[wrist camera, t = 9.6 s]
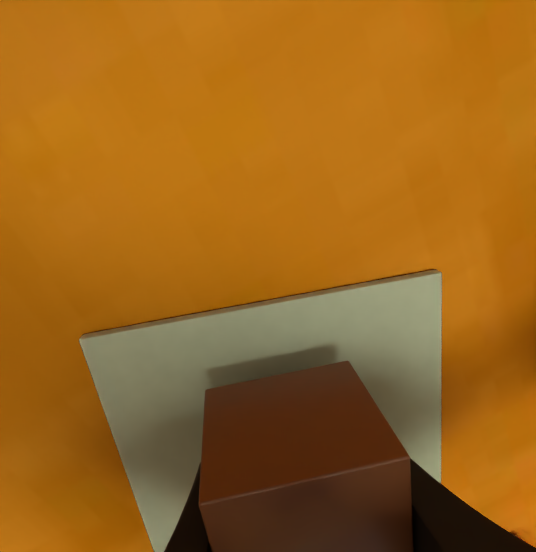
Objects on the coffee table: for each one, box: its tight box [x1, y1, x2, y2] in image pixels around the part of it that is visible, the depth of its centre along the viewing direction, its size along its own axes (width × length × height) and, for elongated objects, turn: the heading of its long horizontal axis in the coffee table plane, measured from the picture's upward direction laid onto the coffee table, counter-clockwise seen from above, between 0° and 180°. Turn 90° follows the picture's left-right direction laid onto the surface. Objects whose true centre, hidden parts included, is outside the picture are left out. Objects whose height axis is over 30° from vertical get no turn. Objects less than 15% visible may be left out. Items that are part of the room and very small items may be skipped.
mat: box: [79, 269, 442, 552], centre depth 14 cm, size 12×10×1 cm
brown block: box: [199, 361, 414, 552], centre depth 11 cm, size 4×6×4 cm
